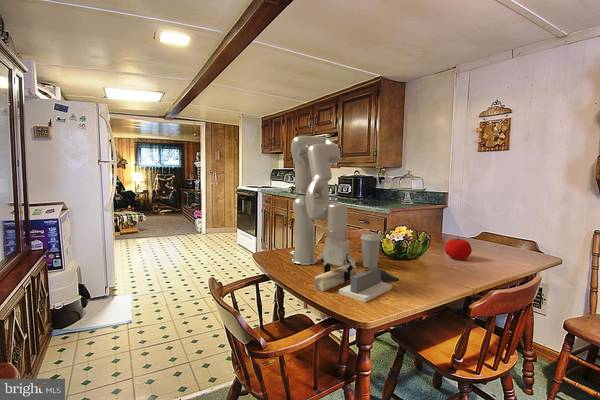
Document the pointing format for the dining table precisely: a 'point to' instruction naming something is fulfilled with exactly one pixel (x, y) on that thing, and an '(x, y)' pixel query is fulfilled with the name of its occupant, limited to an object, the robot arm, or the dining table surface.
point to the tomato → (458, 249)
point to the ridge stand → (366, 285)
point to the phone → (387, 277)
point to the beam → (331, 279)
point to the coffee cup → (370, 249)
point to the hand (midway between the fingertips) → (336, 278)
